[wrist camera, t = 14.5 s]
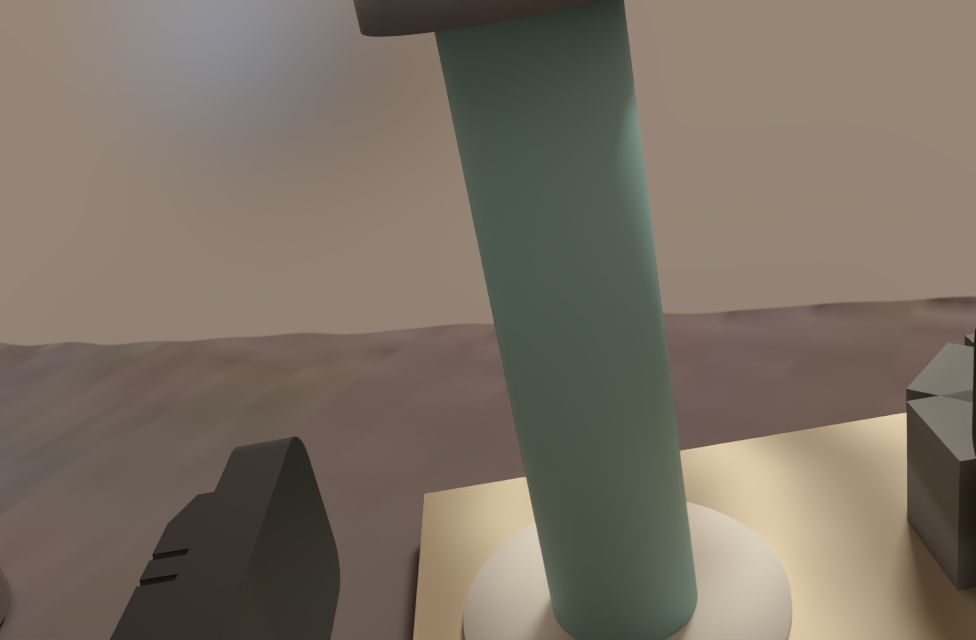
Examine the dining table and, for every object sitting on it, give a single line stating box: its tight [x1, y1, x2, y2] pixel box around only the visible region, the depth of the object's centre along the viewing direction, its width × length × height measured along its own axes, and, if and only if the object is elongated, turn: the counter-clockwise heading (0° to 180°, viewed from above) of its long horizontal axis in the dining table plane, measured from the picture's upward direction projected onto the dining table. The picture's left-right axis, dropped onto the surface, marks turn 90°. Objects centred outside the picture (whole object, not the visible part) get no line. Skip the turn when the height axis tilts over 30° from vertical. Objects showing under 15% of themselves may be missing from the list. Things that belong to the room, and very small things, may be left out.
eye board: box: [413, 334, 976, 640], centre depth 25 cm, size 26×14×6 cm, turn 91°
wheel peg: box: [353, 0, 698, 640], centre depth 22 cm, size 7×7×17 cm
